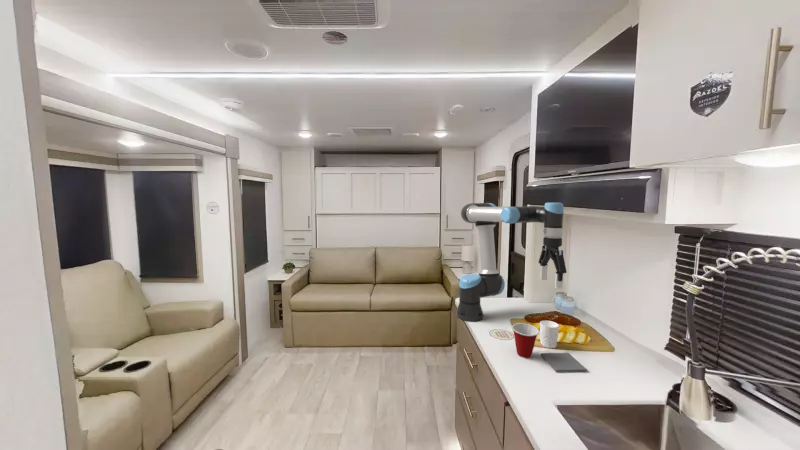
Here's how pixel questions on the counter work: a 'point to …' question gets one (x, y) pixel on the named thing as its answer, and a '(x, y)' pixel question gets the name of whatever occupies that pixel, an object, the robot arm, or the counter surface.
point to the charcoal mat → (563, 362)
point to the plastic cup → (524, 338)
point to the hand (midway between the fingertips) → (550, 283)
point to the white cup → (548, 334)
